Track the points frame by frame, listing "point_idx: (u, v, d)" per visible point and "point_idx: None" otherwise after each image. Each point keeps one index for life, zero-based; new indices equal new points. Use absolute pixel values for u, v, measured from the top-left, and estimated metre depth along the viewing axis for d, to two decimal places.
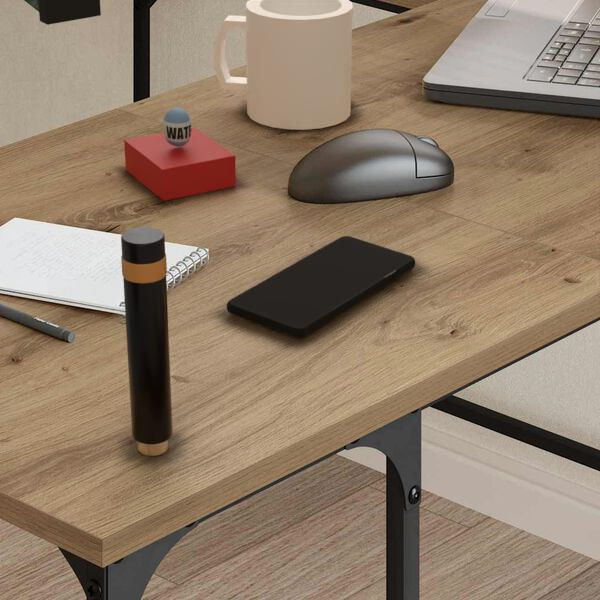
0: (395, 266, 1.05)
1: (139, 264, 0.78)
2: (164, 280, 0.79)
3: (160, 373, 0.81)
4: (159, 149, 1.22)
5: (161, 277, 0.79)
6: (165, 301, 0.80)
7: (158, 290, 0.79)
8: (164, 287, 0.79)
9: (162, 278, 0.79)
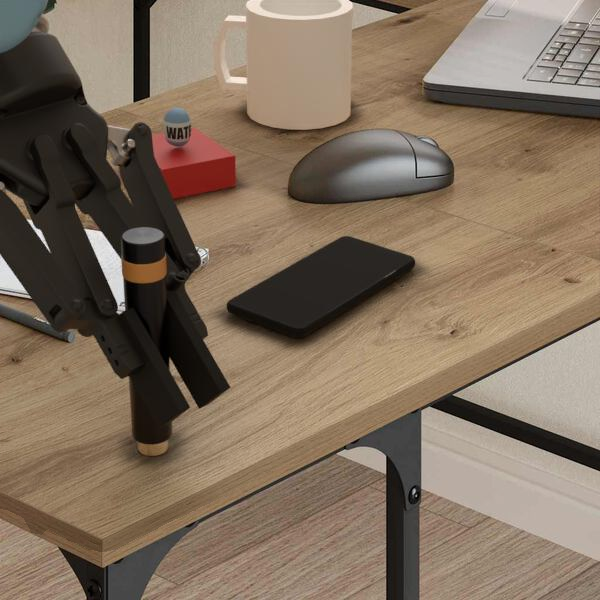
0: (395, 266, 1.05)
1: (139, 264, 0.78)
2: (164, 280, 0.79)
3: None
4: (159, 149, 1.22)
5: (161, 277, 0.79)
6: (165, 301, 0.80)
7: (158, 290, 0.79)
8: (164, 287, 0.79)
9: (162, 278, 0.79)
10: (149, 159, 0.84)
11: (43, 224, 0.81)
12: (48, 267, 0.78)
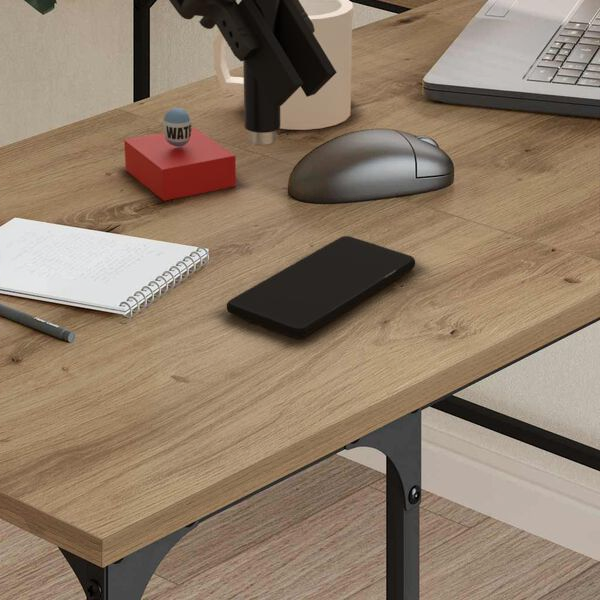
0: (395, 266, 1.05)
1: None
2: None
3: None
4: (159, 149, 1.22)
5: None
6: None
7: None
8: None
9: None
10: None
11: None
12: None
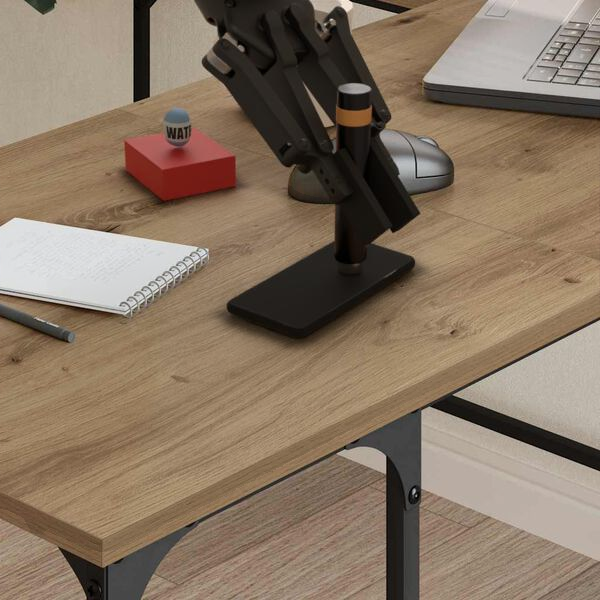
0: (395, 266, 1.05)
1: (353, 111, 0.98)
2: (369, 125, 0.99)
3: None
4: (159, 149, 1.22)
5: (368, 122, 0.99)
6: (369, 143, 1.00)
7: (365, 133, 0.99)
8: (369, 131, 0.99)
9: (368, 123, 0.99)
10: (347, 35, 1.04)
11: (269, 83, 1.01)
12: (280, 113, 0.97)
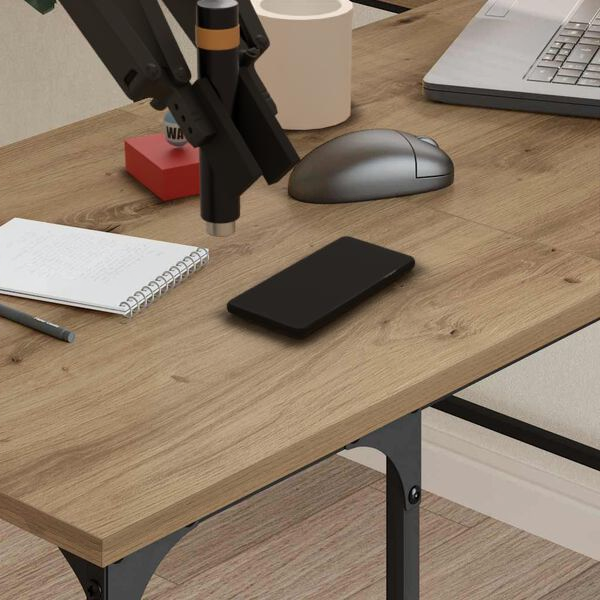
0: (395, 266, 1.05)
1: (214, 30, 0.79)
2: (237, 50, 0.80)
3: None
4: (159, 149, 1.22)
5: (235, 45, 0.80)
6: (237, 72, 0.81)
7: (232, 59, 0.80)
8: (237, 57, 0.80)
9: (235, 47, 0.80)
10: None
11: None
12: (123, 32, 0.78)
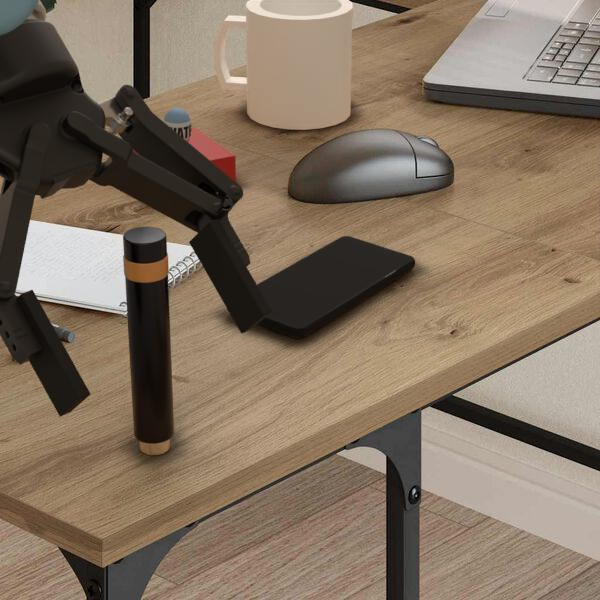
0: (395, 266, 1.05)
1: (141, 264, 0.78)
2: (166, 279, 0.79)
3: (161, 372, 0.81)
4: None
5: (163, 276, 0.79)
6: (167, 300, 0.80)
7: (160, 289, 0.79)
8: (166, 286, 0.80)
9: (164, 277, 0.79)
10: (150, 117, 0.85)
11: (2, 203, 0.80)
12: None
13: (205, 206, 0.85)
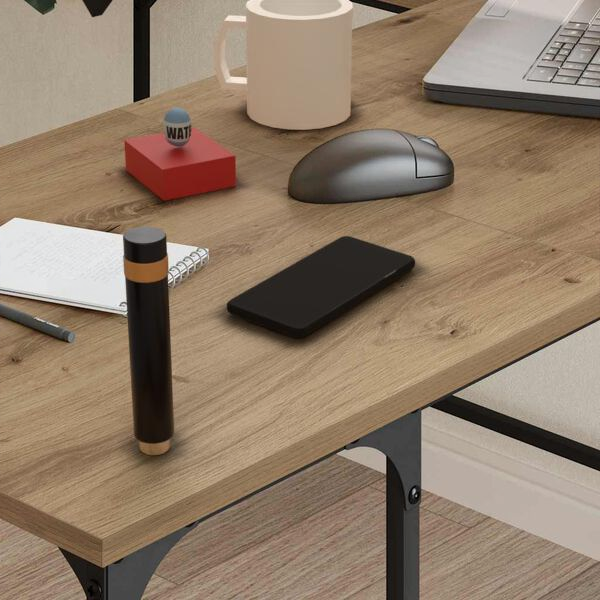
0: (395, 266, 1.05)
1: (141, 264, 0.78)
2: (166, 279, 0.79)
3: (161, 372, 0.81)
4: (159, 149, 1.22)
5: (163, 276, 0.79)
6: (167, 300, 0.80)
7: (160, 289, 0.79)
8: (166, 286, 0.80)
9: (164, 277, 0.79)
10: None
11: None
12: None
13: None
